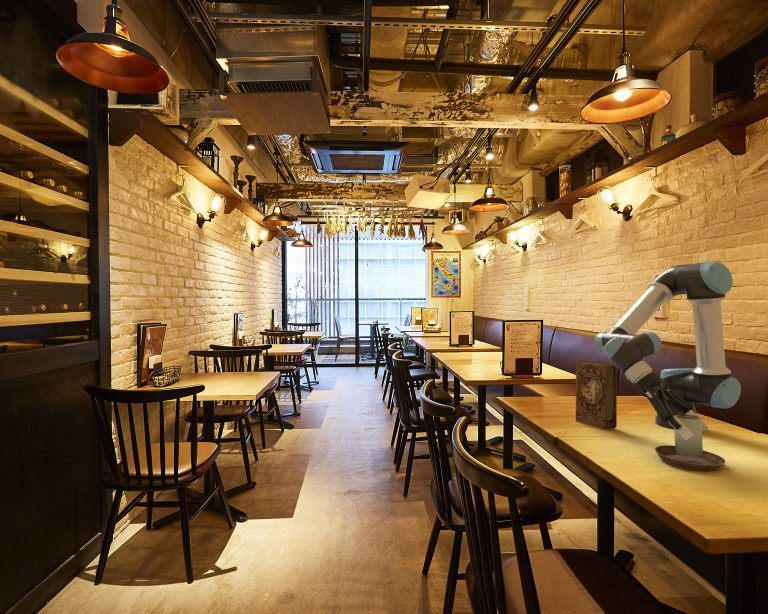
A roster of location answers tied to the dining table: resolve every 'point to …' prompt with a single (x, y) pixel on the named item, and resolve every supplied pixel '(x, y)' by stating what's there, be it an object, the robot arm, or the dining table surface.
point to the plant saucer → (690, 459)
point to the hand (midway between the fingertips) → (697, 433)
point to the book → (596, 394)
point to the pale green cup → (694, 443)
